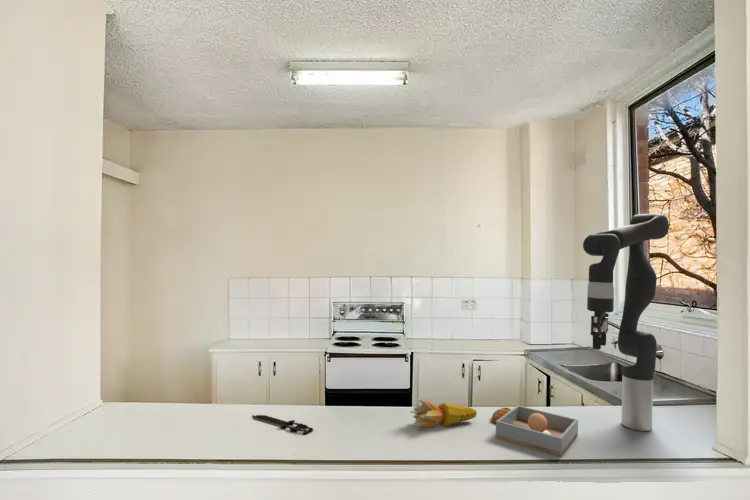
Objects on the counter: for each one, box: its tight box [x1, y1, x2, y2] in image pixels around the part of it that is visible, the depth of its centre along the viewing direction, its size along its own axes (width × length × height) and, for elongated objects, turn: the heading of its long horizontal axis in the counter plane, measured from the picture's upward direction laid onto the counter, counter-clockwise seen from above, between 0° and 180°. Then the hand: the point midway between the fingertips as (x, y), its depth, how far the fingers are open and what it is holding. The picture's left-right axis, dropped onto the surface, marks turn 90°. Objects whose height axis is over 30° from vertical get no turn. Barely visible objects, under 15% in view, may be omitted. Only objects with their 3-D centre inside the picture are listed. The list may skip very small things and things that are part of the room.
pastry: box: [491, 407, 512, 423], centre depth 154 cm, size 9×7×4 cm
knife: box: [251, 414, 314, 436], centre depth 145 cm, size 25×6×1 cm, turn 55°
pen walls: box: [495, 404, 579, 453], centre depth 140 cm, size 20×20×4 cm
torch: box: [409, 397, 478, 431], centre depth 148 cm, size 8×8×25 cm
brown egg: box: [528, 413, 548, 432], centre depth 140 cm, size 6×6×6 cm
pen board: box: [495, 418, 579, 457], centre depth 140 cm, size 20×20×1 cm
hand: (599, 347), depth 138 cm, fingers open, 8 cm apart
